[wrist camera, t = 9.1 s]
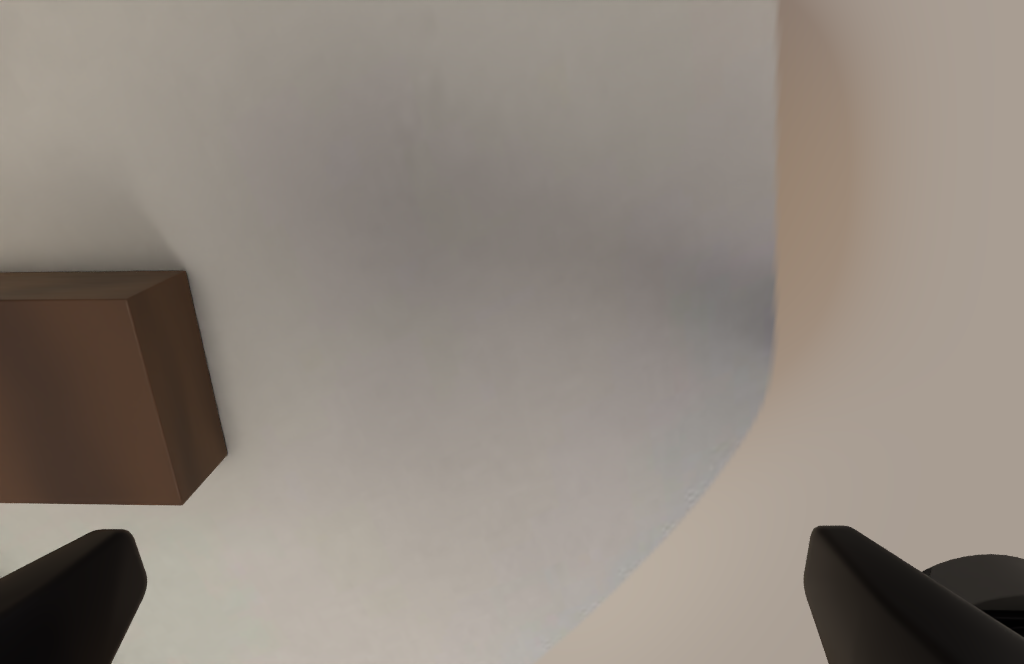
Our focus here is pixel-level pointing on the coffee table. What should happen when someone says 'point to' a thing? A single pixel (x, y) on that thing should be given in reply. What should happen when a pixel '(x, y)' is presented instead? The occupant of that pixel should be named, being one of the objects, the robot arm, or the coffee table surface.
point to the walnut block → (103, 389)
